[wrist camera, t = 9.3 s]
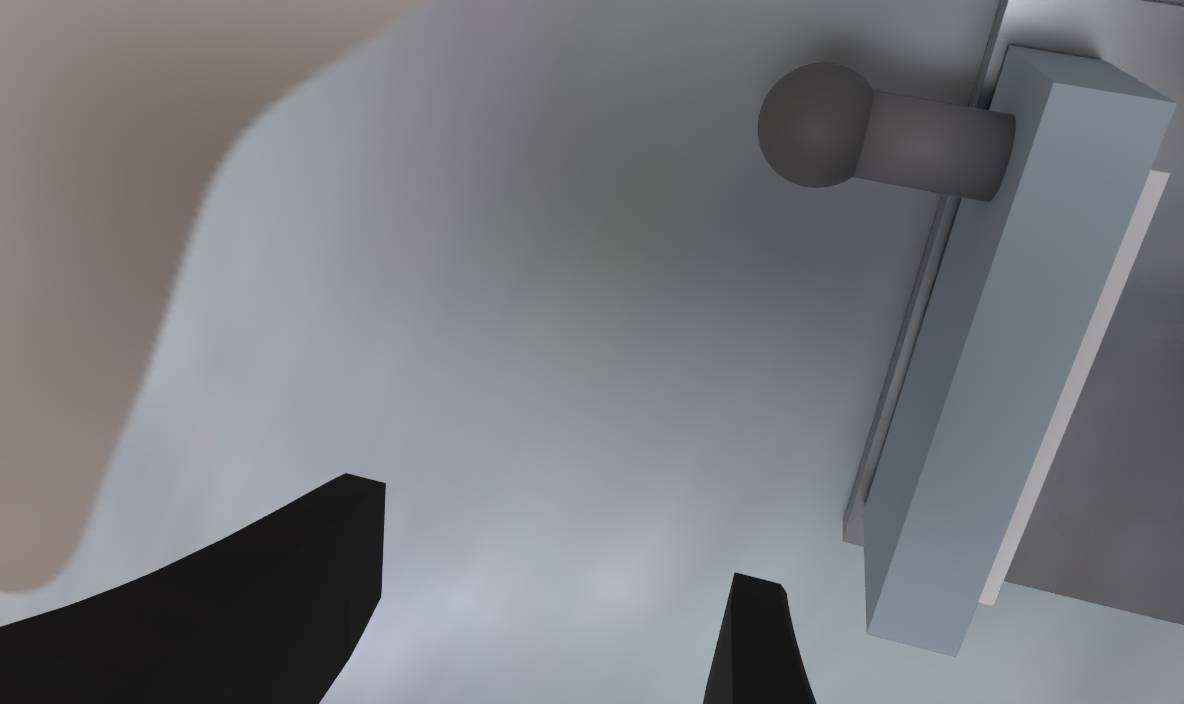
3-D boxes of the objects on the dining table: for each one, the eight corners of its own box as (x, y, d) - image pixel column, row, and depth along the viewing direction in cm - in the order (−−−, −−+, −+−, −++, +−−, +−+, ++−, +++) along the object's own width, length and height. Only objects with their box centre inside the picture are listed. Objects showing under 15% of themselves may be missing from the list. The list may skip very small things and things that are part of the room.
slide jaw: (1130, 65, 16) (1209, 108, 13) (956, 534, 21) (978, 663, 17) (786, 8, 17) (770, 35, 14) (689, 470, 22) (659, 580, 18)
